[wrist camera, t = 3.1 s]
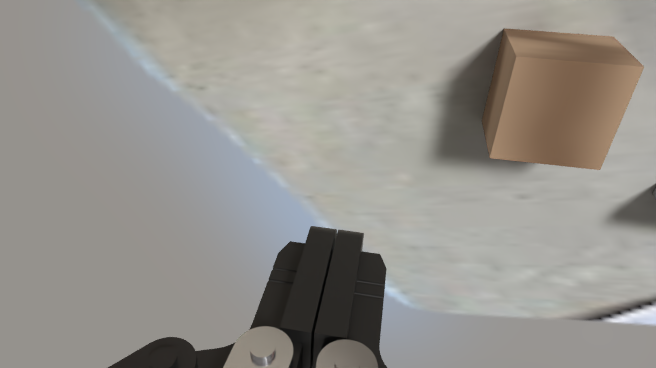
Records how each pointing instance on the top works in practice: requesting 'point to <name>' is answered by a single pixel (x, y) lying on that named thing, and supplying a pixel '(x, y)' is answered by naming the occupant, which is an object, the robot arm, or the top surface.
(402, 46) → the top surface
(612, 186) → the top surface
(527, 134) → the tile block
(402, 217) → the top surface
